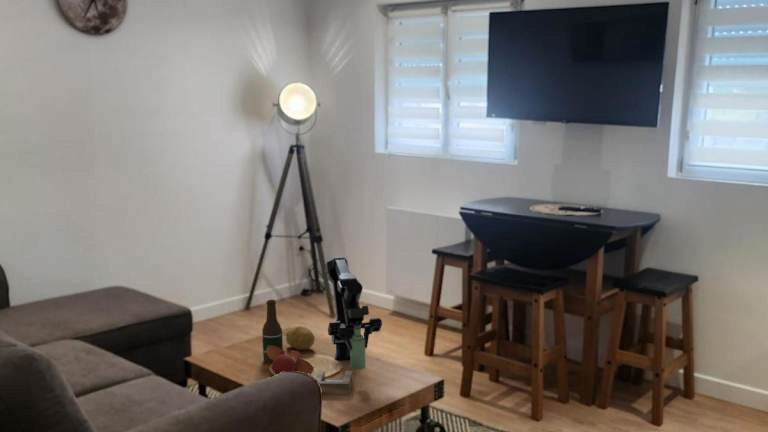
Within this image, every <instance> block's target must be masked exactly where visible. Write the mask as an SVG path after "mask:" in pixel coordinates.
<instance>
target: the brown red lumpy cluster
mask: <svg viewBox="0 0 768 432" xmlns="http://www.w3.org/2000/svg"><path fill="white" fill-rule="evenodd" d="M289 351H290V352H289V355H288V354H286V351H285V350H284V348H283V349H281V348H279V347H278V346H275V345H274V346H273V345H269V346H268V347H267V349H266V352H267V355H268V357H269V358H270V359H271V360H273V364H271V366H270V369H271V371H272V372H274V374H275V375H277V374H279V373H280V372H282V371H294V372H295V371H300V372H304V373H306V374H308V373H309V374H310V375H312V373H313V372H314V366H313V365H312V364H311V363H310V362H309V361H307V360H306V359H302V358H303V354H302V353H300V352H299V351H298V350H294V349H291V350H289Z"/></svg>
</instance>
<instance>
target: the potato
mask: <svg viewBox="0 0 768 432" xmlns="http://www.w3.org/2000/svg"><path fill="white" fill-rule="evenodd" d="M285 341H286V343H287V344H288V346H290V347H291V348H293V349H295V350H297V351H298V350H300V351H304V350H308V349H310V348H311V347H312V346H313V345H314V344H315V335H314V334H313V332H312V330H310V329H309V328H308V327H305V326H302V325H298V326H294V327H292V328H289V330H287V332H286V335H285Z"/></svg>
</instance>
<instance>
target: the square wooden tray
mask: <svg viewBox="0 0 768 432" xmlns="http://www.w3.org/2000/svg"><path fill="white" fill-rule="evenodd" d="M325 372H326V371H325V370H318V371H317V373H316V376H315V378H314V380H315V379H316V380H317V381H318V383H319V384H320V387H321V389H322V395H323V396H324V395H326V396H328V395H329V396H330V395H331V396H349V395H350V392H351V388H352V384H353V370H345V372H344V376H343V378H326V373H325ZM322 395H321V396H322Z"/></svg>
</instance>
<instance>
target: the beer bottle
mask: <svg viewBox="0 0 768 432" xmlns="http://www.w3.org/2000/svg"><path fill="white" fill-rule="evenodd" d="M276 304H277V302H276V299H275V300H274V299H268V300H267V301H266V319H265V322H264V324H263V327H262V330H261V333H262V353H263V354H262V357H263V362H264V363H265V364H268V365H272V364H273V360H271V359H270V358H269V357H268V355H267V352H266V349H267V347H268V346H269V345H273V346H274V345H275V346H278V347H279V348H281V349H283V350H284V348H283V347H284V346H283V343H284V342H283V331H282V330H283V329H282V327H281V324H280V322H279V321H278V317H277V309H276V307H277V306H276Z"/></svg>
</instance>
